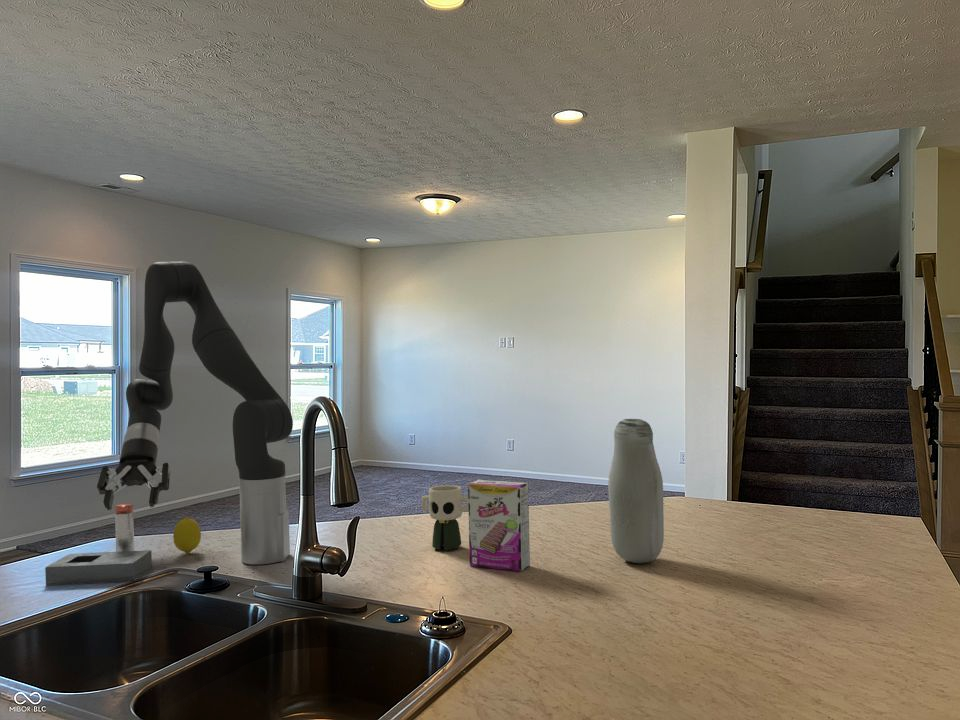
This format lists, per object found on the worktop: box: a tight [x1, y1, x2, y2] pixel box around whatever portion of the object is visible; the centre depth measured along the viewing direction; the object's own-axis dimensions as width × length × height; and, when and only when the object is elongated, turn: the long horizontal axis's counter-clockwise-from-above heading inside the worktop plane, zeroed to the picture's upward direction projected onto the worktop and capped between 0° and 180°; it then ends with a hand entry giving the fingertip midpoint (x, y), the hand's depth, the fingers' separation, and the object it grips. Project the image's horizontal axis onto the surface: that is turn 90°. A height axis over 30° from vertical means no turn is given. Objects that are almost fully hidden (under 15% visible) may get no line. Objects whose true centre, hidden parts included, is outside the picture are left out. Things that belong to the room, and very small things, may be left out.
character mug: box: [421, 484, 469, 551], centre depth 154 cm, size 11×7×13 cm, turn 74°
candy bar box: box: [467, 479, 531, 572], centre depth 140 cm, size 11×5×16 cm, turn 65°
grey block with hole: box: [44, 549, 153, 586], centre depth 140 cm, size 16×9×4 cm, turn 94°
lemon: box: [172, 516, 202, 555], centre depth 155 cm, size 6×6×8 cm
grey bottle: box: [607, 418, 665, 564], centre depth 141 cm, size 10×10×28 cm
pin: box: [114, 503, 135, 552], centre depth 149 cm, size 3×3×12 cm
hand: (130, 506), depth 155 cm, fingers open, 8 cm apart
